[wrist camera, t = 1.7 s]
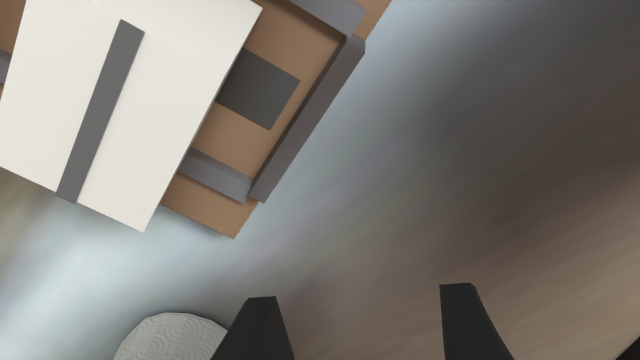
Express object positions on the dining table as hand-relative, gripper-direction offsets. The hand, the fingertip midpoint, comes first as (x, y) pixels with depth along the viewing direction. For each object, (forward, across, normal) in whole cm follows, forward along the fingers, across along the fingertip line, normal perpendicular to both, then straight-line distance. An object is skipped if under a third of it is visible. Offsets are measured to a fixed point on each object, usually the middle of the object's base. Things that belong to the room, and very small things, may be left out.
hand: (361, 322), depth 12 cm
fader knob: (+7, +5, -5) cm, 10 cm away
